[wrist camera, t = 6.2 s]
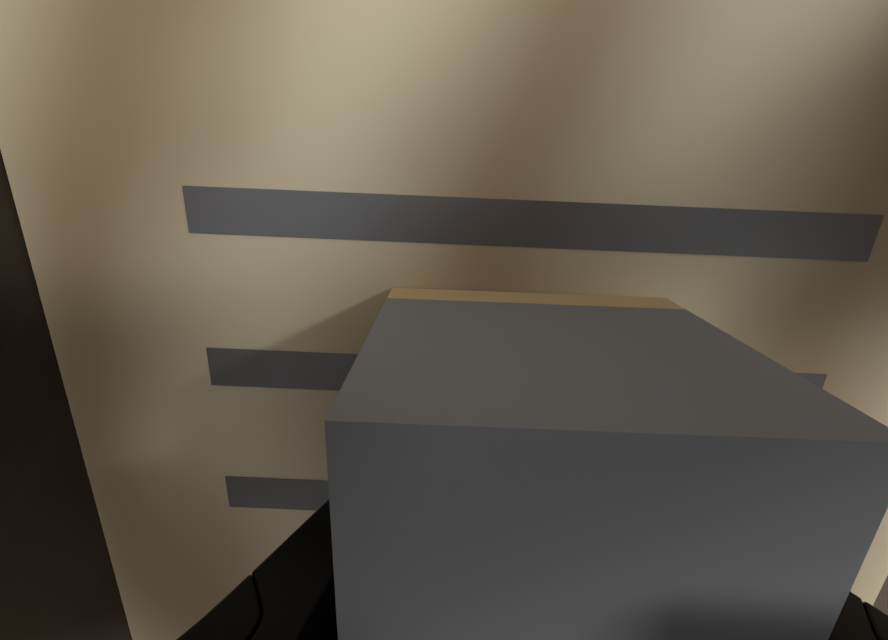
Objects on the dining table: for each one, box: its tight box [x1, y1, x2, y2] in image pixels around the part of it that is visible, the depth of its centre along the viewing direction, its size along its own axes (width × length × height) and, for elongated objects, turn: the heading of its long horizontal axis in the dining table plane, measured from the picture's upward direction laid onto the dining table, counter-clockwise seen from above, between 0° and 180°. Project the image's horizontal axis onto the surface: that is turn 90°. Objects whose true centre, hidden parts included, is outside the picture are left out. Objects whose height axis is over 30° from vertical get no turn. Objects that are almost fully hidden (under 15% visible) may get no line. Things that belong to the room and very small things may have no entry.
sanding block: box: [324, 288, 888, 640], centre depth 7 cm, size 5×8×4 cm, turn 178°
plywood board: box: [0, 0, 888, 640], centre depth 8 cm, size 18×22×1 cm
